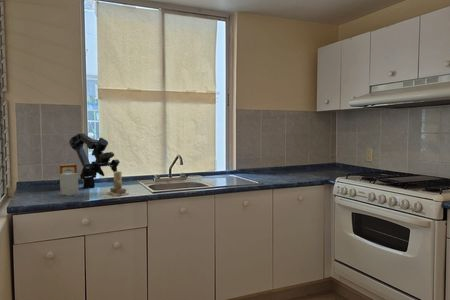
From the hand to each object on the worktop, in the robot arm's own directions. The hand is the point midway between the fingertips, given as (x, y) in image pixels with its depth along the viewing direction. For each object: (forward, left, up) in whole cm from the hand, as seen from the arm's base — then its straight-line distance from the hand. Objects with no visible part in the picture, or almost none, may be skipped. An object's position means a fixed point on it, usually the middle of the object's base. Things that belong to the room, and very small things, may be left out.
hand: (110, 175), depth 210 cm
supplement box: (-22, +7, -11) cm, 26 cm away
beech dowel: (+3, -7, -7) cm, 10 cm away
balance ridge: (+3, -7, -11) cm, 13 cm away
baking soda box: (-20, +27, -11) cm, 36 cm away
